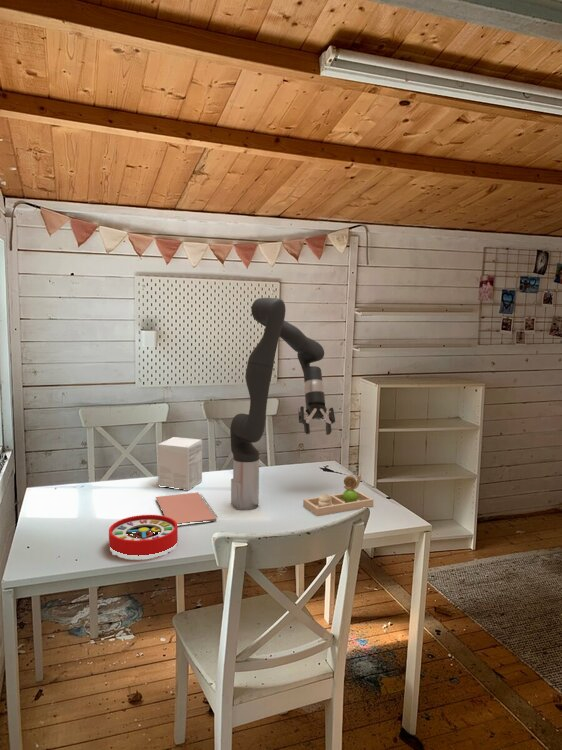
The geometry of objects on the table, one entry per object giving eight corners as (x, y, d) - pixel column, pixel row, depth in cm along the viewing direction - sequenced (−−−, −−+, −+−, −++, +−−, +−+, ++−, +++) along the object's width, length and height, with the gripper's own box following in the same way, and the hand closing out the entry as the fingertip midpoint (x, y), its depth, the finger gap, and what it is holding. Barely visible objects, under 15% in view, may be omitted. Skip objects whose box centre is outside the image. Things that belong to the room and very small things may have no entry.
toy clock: (175, 512, 182) (180, 537, 163) (175, 529, 183) (180, 557, 164) (109, 517, 177) (107, 544, 158) (110, 535, 178) (107, 564, 159)
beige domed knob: (322, 511, 197) (322, 496, 197) (316, 507, 201) (316, 492, 201) (333, 509, 199) (334, 495, 198) (327, 505, 203) (327, 491, 203)
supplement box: (203, 481, 231) (203, 439, 229) (188, 491, 218) (188, 447, 216) (173, 477, 235) (173, 436, 233) (157, 487, 222) (157, 443, 220)
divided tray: (316, 518, 193) (317, 508, 193) (303, 508, 202) (303, 499, 202) (373, 509, 203) (373, 499, 203) (357, 499, 212) (358, 490, 212)
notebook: (219, 523, 190) (219, 517, 189) (169, 529, 184) (168, 523, 183) (200, 496, 215) (200, 491, 214) (155, 501, 209) (155, 496, 208)
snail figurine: (360, 506, 202) (362, 474, 201) (342, 506, 203) (343, 473, 201) (359, 501, 208) (360, 469, 206) (342, 500, 208) (343, 469, 206)
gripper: (301, 389, 214) (305, 431, 208) (335, 391, 219) (339, 432, 213) (293, 395, 220) (297, 436, 215) (326, 397, 225) (330, 437, 220)
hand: (318, 434), depth 214 cm, fingers open, 8 cm apart
